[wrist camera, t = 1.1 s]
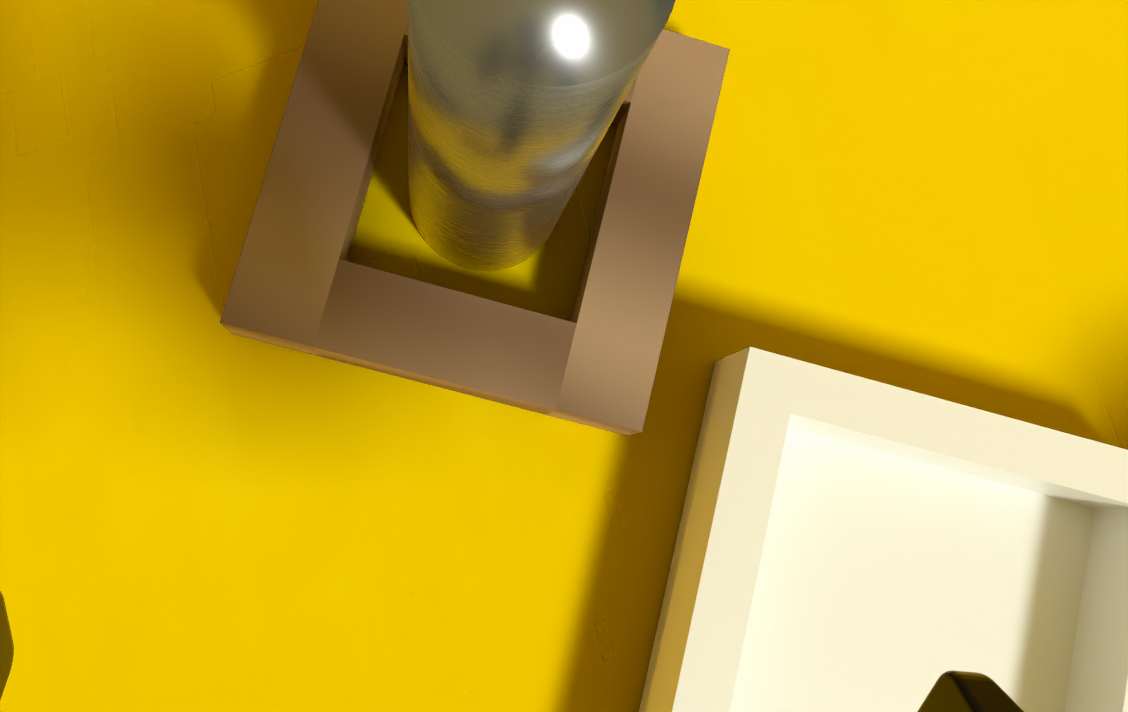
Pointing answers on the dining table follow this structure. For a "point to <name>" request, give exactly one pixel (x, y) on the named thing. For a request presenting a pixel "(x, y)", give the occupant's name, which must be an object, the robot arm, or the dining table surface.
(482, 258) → the strut
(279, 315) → the brown flat square frame
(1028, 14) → the dining table surface
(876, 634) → the bin tray
